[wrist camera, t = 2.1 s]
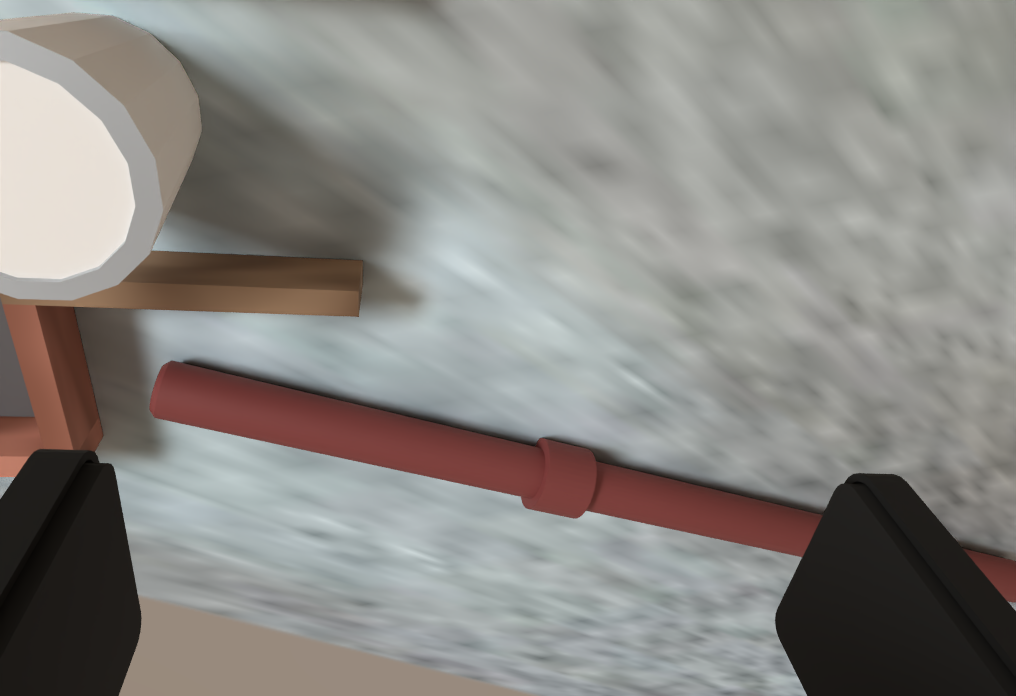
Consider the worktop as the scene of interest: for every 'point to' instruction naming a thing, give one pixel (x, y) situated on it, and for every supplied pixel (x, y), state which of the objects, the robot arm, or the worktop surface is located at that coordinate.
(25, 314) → the box
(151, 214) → the white cylinder
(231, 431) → the red collared rod
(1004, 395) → the worktop surface
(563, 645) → the worktop surface
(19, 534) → the robot arm
